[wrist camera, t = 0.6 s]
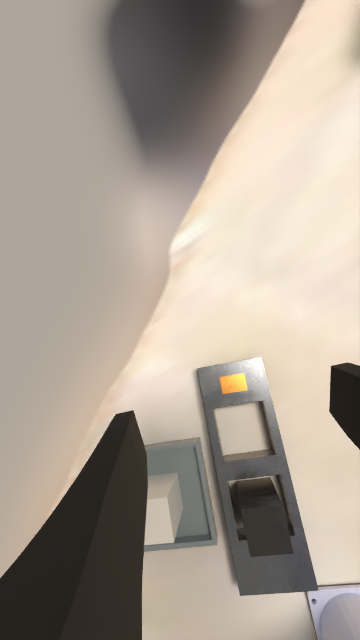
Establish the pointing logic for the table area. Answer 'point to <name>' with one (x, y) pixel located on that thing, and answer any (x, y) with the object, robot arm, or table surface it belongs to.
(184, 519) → the tray
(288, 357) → the table surface
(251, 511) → the power strip
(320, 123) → the table surface
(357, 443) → the robot arm
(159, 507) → the plug
